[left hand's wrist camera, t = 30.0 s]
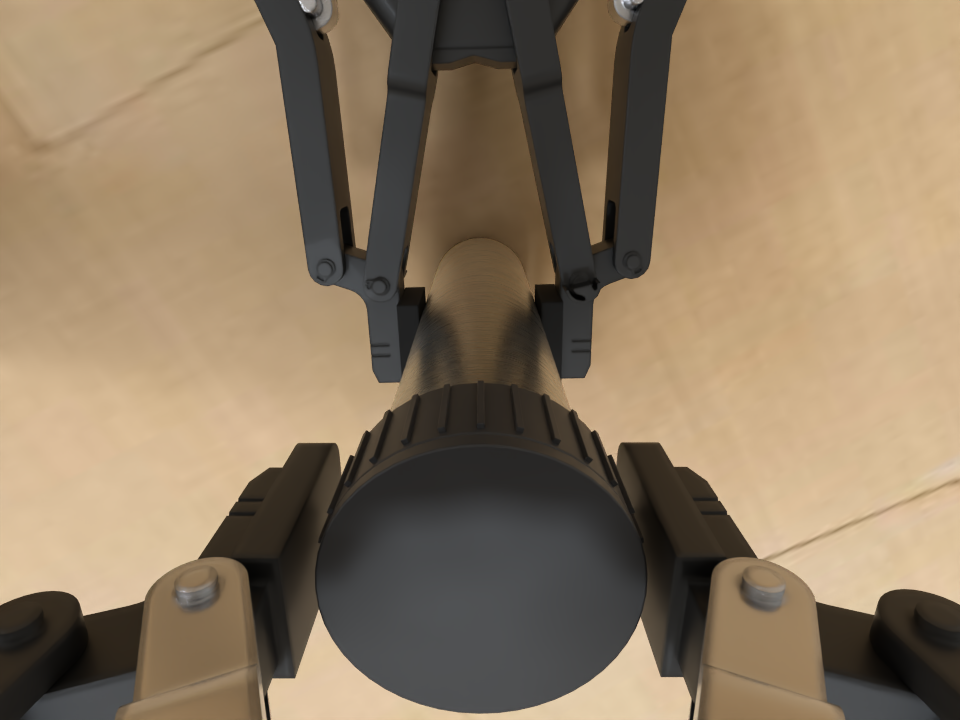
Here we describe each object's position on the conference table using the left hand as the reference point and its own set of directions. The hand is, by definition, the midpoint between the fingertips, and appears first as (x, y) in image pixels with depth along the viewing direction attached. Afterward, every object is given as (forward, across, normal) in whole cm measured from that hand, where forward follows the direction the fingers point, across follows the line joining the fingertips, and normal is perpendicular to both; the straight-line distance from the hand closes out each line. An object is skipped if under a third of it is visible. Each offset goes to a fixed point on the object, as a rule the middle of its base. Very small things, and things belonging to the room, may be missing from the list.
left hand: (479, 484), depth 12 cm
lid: (-3, 0, 0) cm, 3 cm away
